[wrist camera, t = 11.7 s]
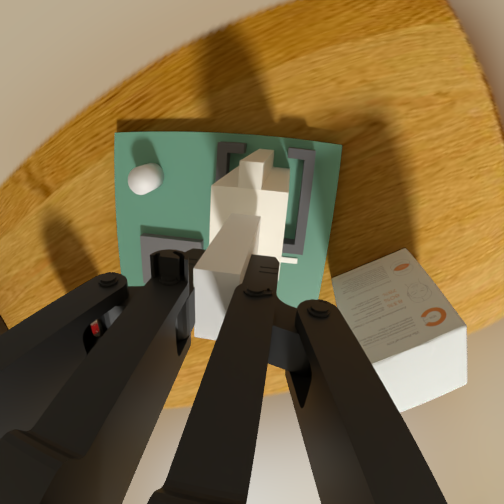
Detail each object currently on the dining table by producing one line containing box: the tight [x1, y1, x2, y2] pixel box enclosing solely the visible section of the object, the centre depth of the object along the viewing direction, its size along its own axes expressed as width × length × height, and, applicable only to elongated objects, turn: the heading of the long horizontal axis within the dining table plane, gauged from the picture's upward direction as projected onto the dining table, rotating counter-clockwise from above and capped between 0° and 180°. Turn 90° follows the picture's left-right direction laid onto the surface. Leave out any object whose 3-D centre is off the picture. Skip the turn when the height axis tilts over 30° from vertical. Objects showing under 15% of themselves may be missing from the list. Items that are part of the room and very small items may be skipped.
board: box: [114, 131, 342, 308], centre depth 27 cm, size 20×18×4 cm
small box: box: [332, 248, 467, 413], centre depth 23 cm, size 8×6×13 cm
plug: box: [209, 149, 290, 280], centre depth 21 cm, size 4×6×10 cm, turn 176°
